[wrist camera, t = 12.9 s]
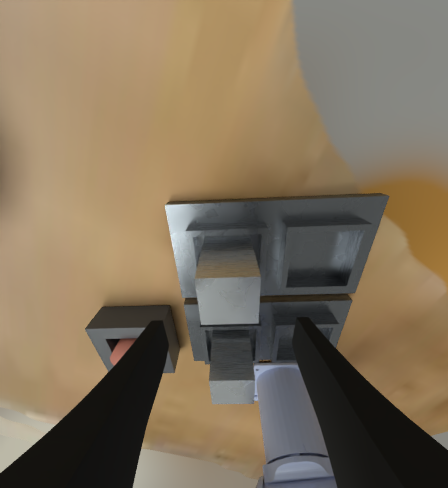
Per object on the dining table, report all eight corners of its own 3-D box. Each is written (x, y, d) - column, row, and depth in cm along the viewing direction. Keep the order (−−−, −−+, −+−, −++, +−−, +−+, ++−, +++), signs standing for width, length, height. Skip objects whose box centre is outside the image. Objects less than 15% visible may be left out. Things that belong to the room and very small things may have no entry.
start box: (179, 349, 25) (174, 372, 23) (121, 350, 26) (109, 373, 23) (169, 305, 22) (161, 327, 19) (101, 307, 22) (84, 328, 19)
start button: (158, 350, 23) (151, 372, 21) (126, 351, 23) (116, 372, 21) (151, 328, 21) (143, 349, 19) (117, 329, 21) (104, 350, 19)
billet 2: (247, 345, 23) (253, 403, 18) (215, 345, 23) (212, 404, 18) (247, 322, 22) (255, 380, 16) (213, 323, 22) (209, 380, 16)
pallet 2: (328, 351, 25) (338, 370, 23) (195, 353, 26) (192, 372, 24) (347, 293, 21) (361, 311, 19) (185, 298, 21) (180, 315, 19)
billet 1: (248, 272, 18) (258, 323, 13) (208, 273, 18) (200, 324, 13) (249, 235, 17) (260, 276, 11) (204, 236, 17) (194, 278, 11)
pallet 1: (349, 286, 20) (364, 303, 18) (184, 291, 21) (179, 308, 19) (379, 193, 16) (405, 200, 14) (168, 201, 16) (159, 210, 14)
